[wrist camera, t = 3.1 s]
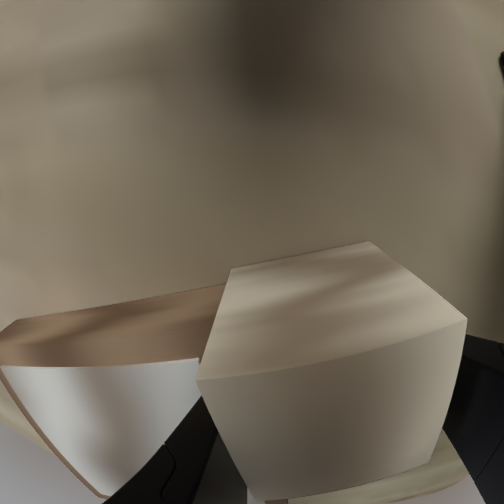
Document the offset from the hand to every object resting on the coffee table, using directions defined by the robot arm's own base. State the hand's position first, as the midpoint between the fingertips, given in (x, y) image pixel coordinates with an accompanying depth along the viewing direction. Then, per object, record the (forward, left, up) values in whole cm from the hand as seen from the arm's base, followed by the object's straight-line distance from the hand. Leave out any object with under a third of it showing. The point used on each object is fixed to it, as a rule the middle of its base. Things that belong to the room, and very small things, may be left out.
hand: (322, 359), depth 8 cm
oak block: (0, 0, -3) cm, 3 cm away
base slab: (+8, +4, -3) cm, 10 cm away
